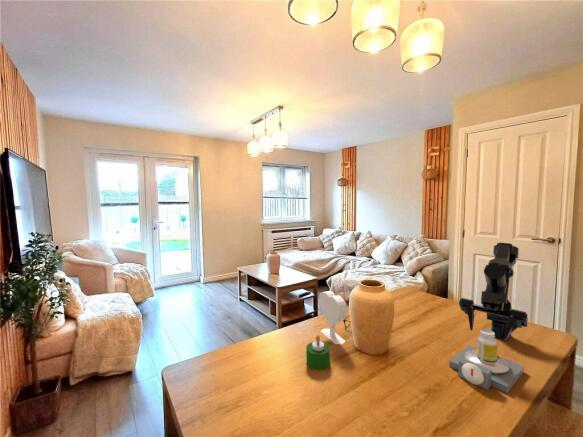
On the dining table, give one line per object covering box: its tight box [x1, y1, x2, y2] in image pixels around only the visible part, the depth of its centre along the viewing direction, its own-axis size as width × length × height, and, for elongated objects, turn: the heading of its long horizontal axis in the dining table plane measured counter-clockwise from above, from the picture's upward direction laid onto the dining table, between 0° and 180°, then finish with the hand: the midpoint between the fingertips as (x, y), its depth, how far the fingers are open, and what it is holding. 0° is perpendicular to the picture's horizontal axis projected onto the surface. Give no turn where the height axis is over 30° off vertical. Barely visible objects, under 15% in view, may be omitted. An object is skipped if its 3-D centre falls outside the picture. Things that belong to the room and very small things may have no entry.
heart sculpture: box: [319, 290, 348, 345], centre depth 113 cm, size 16×5×18 cm, turn 24°
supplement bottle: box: [476, 328, 498, 364], centre depth 89 cm, size 5×5×10 cm
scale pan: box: [465, 350, 509, 374], centre depth 90 cm, size 12×12×1 cm
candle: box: [305, 335, 331, 371], centre depth 95 cm, size 8×8×10 cm
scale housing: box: [449, 344, 525, 394], centre depth 89 cm, size 20×16×6 cm
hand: (487, 334), depth 89 cm, fingers open, 9 cm apart
